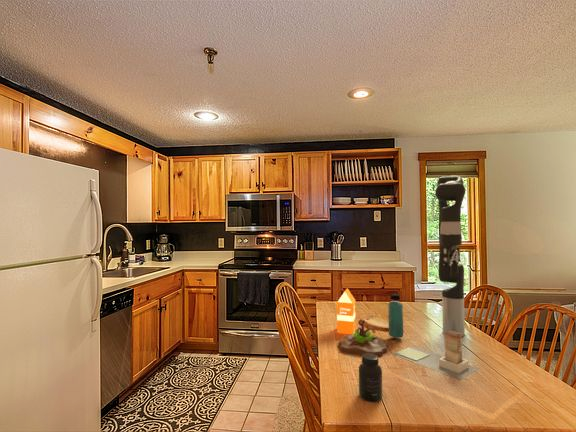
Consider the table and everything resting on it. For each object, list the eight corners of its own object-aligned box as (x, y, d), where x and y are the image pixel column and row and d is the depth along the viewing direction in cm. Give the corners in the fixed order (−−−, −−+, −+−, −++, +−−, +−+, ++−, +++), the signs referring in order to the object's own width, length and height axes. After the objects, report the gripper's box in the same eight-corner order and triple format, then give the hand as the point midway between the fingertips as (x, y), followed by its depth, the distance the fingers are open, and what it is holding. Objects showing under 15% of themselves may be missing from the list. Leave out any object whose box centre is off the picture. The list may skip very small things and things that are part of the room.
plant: (391, 343, 140) (390, 317, 140) (383, 360, 122) (383, 331, 122) (346, 336, 148) (346, 312, 149) (333, 351, 131) (333, 324, 131)
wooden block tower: (450, 363, 116) (450, 330, 117) (462, 367, 113) (461, 333, 113) (445, 366, 114) (444, 332, 114) (456, 370, 111) (456, 335, 111)
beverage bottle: (404, 341, 141) (404, 296, 141) (389, 340, 142) (388, 295, 142) (402, 336, 147) (401, 293, 148) (387, 335, 148) (387, 292, 149)
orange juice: (355, 328, 158) (355, 288, 159) (353, 334, 150) (353, 291, 151) (339, 327, 161) (339, 287, 162) (336, 332, 153) (336, 290, 153)
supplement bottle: (356, 390, 99) (355, 352, 99) (377, 390, 100) (377, 351, 100) (363, 403, 92) (362, 361, 93) (385, 402, 93) (385, 360, 93)
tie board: (412, 348, 133) (412, 339, 133) (479, 371, 112) (479, 361, 112) (392, 356, 125) (392, 347, 125) (459, 383, 104) (459, 372, 104)
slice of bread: (401, 332, 154) (401, 324, 154) (364, 332, 155) (364, 324, 155) (390, 320, 172) (390, 314, 172) (357, 320, 173) (357, 313, 173)
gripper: (446, 233, 135) (447, 271, 134) (434, 233, 124) (434, 275, 124) (466, 233, 129) (467, 273, 129) (455, 233, 119) (455, 277, 119)
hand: (451, 274), depth 126 cm, fingers open, 8 cm apart
